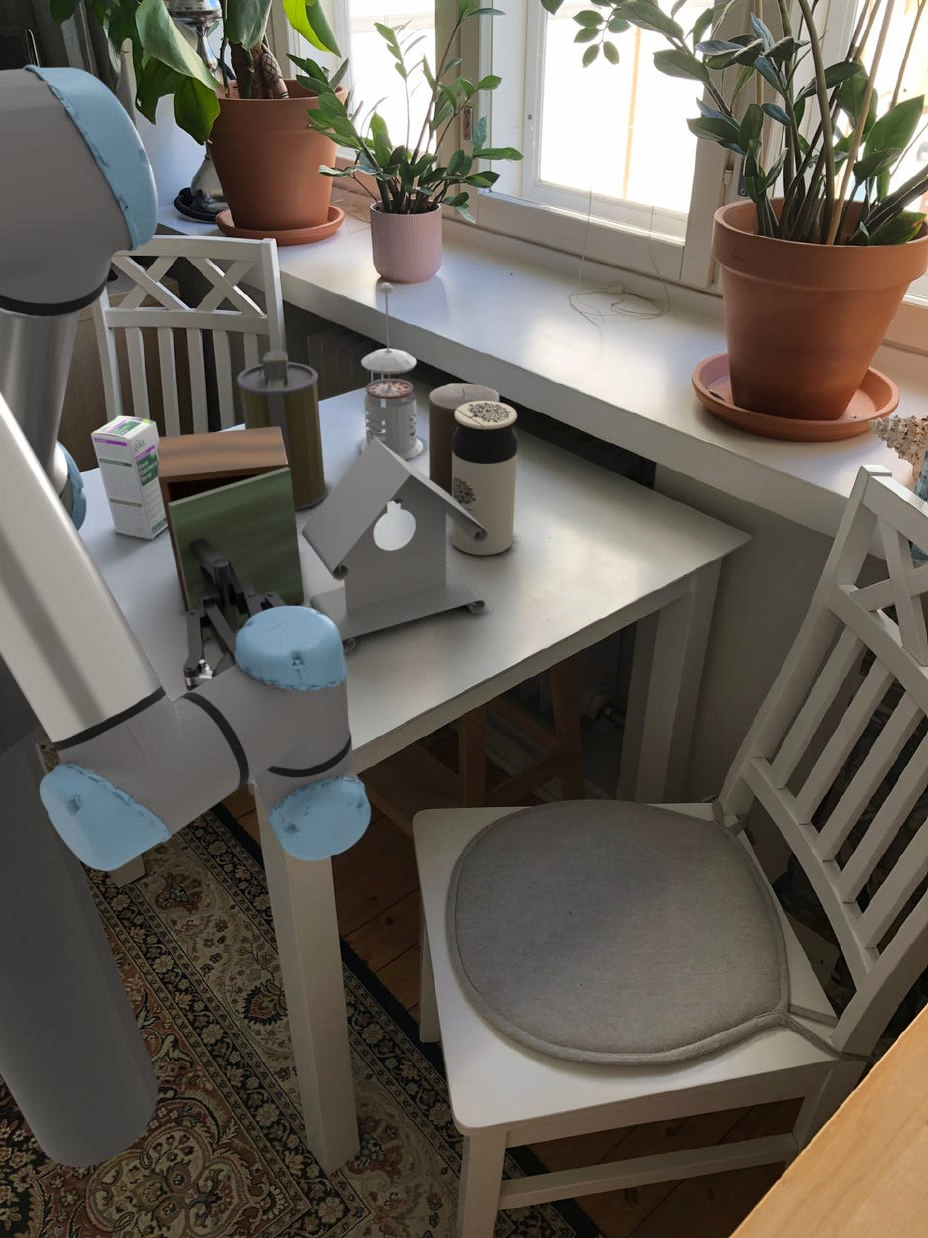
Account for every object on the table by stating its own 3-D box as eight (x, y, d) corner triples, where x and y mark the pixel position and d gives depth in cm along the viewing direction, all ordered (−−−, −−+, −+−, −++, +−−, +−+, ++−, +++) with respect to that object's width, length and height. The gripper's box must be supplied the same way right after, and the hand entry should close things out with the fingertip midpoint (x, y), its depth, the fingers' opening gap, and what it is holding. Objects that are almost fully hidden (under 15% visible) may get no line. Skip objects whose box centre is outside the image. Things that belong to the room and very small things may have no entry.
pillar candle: (450, 508, 129) (451, 406, 120) (417, 479, 135) (415, 381, 127) (509, 491, 133) (514, 392, 124) (474, 464, 139) (476, 368, 131)
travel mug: (494, 520, 126) (499, 395, 115) (523, 548, 120) (531, 419, 110) (441, 533, 123) (441, 406, 112) (468, 563, 117) (471, 431, 107)
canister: (255, 477, 135) (237, 343, 123) (327, 475, 136) (316, 341, 124) (250, 515, 126) (230, 374, 115) (326, 511, 127) (315, 371, 116)
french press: (370, 465, 139) (361, 296, 124) (349, 434, 148) (339, 272, 133) (432, 455, 142) (430, 289, 127) (408, 425, 150) (404, 266, 136)
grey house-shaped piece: (339, 653, 102) (325, 492, 90) (309, 609, 109) (293, 453, 97) (485, 610, 109) (490, 455, 97) (449, 571, 116) (450, 421, 104)
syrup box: (152, 541, 121) (130, 438, 112) (114, 532, 122) (89, 431, 114) (177, 520, 125) (157, 419, 116) (139, 512, 127) (117, 413, 118)
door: (332, 626, 106) (320, 492, 96) (222, 671, 99) (197, 532, 89) (301, 597, 110) (286, 466, 100) (194, 639, 104) (167, 503, 93)
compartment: (302, 597, 111) (288, 464, 100) (185, 612, 108) (157, 476, 98) (294, 553, 119) (279, 426, 108) (184, 566, 116) (159, 436, 105)
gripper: (197, 764, 81) (152, 618, 98) (357, 718, 86) (287, 587, 103) (183, 699, 77) (138, 558, 94) (352, 655, 82) (280, 529, 99)
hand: (216, 573), depth 99 cm, fingers closed on door, 2 cm apart
